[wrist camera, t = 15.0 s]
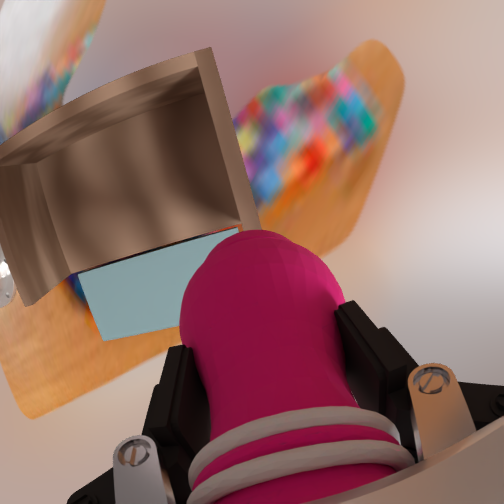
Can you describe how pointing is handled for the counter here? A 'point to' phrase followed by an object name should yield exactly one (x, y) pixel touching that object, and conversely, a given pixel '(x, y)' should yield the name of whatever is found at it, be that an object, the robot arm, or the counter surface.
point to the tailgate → (145, 287)
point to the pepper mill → (277, 380)
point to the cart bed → (122, 174)
